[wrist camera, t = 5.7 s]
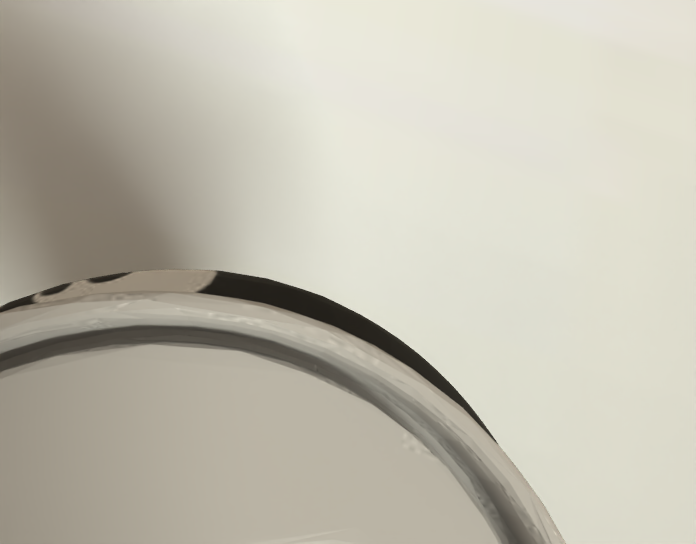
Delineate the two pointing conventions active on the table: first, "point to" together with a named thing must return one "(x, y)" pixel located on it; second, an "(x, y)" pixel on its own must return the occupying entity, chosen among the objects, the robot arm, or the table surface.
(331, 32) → the table surface
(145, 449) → the beverage can
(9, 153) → the table surface
